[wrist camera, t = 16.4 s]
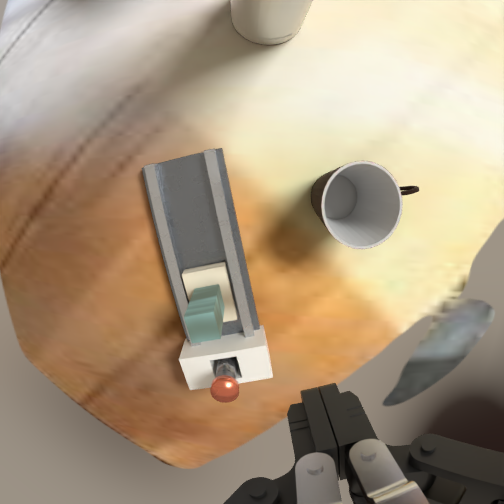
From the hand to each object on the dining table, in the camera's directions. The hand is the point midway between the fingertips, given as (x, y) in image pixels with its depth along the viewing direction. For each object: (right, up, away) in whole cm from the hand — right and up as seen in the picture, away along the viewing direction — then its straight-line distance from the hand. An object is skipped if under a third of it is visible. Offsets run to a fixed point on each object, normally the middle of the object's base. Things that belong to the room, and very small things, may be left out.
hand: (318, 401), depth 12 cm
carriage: (-8, +1, +28) cm, 29 cm away
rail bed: (-9, +5, +28) cm, 30 cm away
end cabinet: (-6, -7, +31) cm, 33 cm away
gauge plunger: (-6, -7, +30) cm, 32 cm away
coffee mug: (+9, +13, +27) cm, 31 cm away
